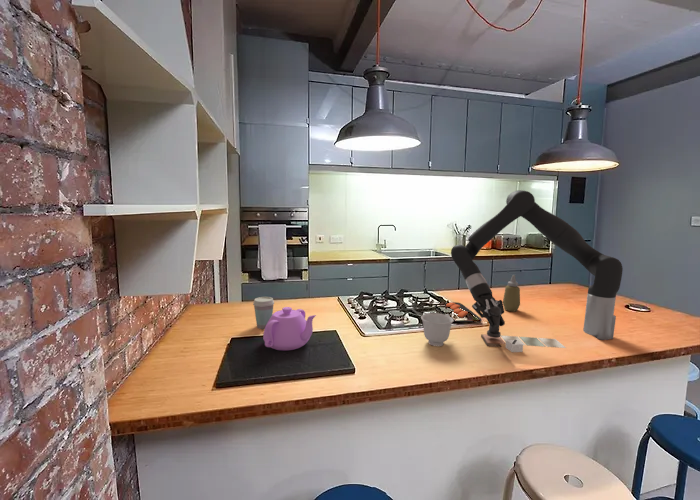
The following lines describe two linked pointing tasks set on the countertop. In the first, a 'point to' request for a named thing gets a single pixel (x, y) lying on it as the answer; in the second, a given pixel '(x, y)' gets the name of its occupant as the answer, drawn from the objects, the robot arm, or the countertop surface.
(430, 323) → the teacup
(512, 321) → the countertop surface
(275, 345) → the teapot
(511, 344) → the die
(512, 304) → the squeeze bottle
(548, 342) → the board
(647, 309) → the countertop surface
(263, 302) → the coffee cup
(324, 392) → the countertop surface
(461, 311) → the sushi plate
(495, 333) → the pawn
